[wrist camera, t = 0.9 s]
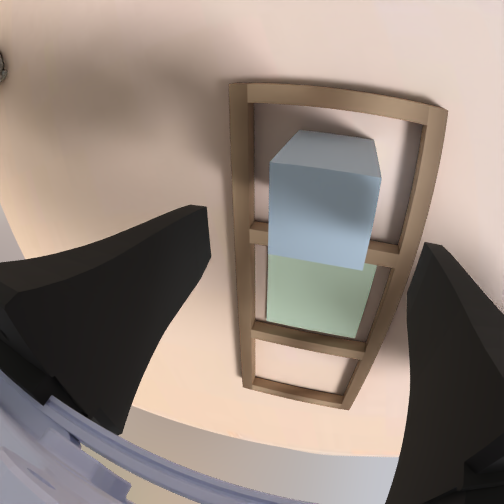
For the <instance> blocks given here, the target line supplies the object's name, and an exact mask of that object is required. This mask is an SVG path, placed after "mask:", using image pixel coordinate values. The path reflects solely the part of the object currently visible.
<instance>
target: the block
mask: <svg viewBox="0 0 504 504" xmlns="http://www.w3.org/2000/svg"><path fill="white" fill-rule="evenodd" d="M380 184H381V172H380V167H379V162H378V157H377V152H376V147H375V143H374V140H371V139H365V138H359V137H352V136H346V135H339V134H331V133H323V132H314V131H305V130H299V131H298V132H297V133H296V134H295V135H294V136H293V137H292V138H291V139H290V140H289V141H288V142H287V143H286V145H285V146H284V147H283V148H282V149H281V150H280V151H279V152H278V153H277V154H276V156H275V157H274V158H273V159H272V160H271V161H270V167H269V227H268V254H271V255H277V256H282V257H288V258H294V259H299V260H305V261H311V262H316V263H322V264H327V265H333V266H339V267H344V268H350V269H355V270H361V271H363V267H364V263H365V258H366V254H367V250H368V245H369V241H370V236H371V232H372V227H373V222H374V217H375V212H376V207H377V201H378V196H379V190H380Z"/></svg>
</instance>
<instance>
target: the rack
mask: <svg viewBox="0 0 504 504" xmlns="http://www.w3.org/2000/svg"><path fill="white" fill-rule="evenodd" d="M254 103H270V104H287V105H300V106H312V107H322V108H331V109H339V110H346V111H354V112H360V113H367V114H373V115H379V116H384V117H390V118H395V119H400V120H405V121H410V122H415V123H419V124H423V127H422V134H421V140H420V147H419V153H418V159H417V164H416V170H415V175H414V180H413V185H412V190H411V194H410V199H409V203H408V208H407V212H406V216H405V220H404V224H403V228H402V232H401V236H400V240H399V243H398V245H393V244H388V243H382V242H377V241H371V240H370V241H369V245H368V250H367V254H366V258H365V263H364V267H363V271H361V270H355V269H350V268H344V267H339V266H333V265H327V264H322V263H316V262H311V261H305V260H299V259H294V258H288V257H282V256H277V255H271V254H268V289H267V321H269V322H274V323H279V324H283V325H288V326H293V327H298V328H302V329H307V330H312V331H318V332H323V333H328V334H333V335H339V336H344V337H350V338H355V336H356V333H357V330H358V327H359V324H360V321H361V318H362V315H363V312H364V309H365V306H366V302H367V299H368V296H369V292H370V289H371V286H372V282H373V279H374V275H375V271H376V268H377V265H378V266H384V267H389V268H391V271H390V274H389V278H388V281H387V284H386V287H385V290H384V293H383V296H382V299H381V302H380V305H379V308H378V311H377V314H376V317H375V319H374V322H373V325H372V327H371V330H370V333H369V335H368V338H367V341H366V343H365V342H359V341H353V340H348V339H342V338H337V337H331V336H326V335H321V334H316V333H310V332H305V331H301V330H296V329H291V328H286V327H281V326H277V325H272V324H268V323H263V322H259V321H255V244H259V245H264V246H268V227H269V223H263V222H256V221H255V218H254ZM229 112H230V143H231V171H232V196H233V219H234V241H235V262H236V281H237V300H238V318H239V335H240V351H241V367H242V382H243V387H244V388H248V389H252V390H255V391H259V392H263V393H267V394H271V395H275V396H279V397H284V398H288V399H293V400H297V401H302V402H307V403H311V404H316V405H322V406H327V407H333V408H338V409H344V410H349V409H350V408H351V406H352V404H353V402H354V400H355V398H356V396H357V394H358V393H359V391H360V389H361V387H362V385H363V383H364V381H365V379H366V377H367V375H368V373H369V371H370V369H371V367H372V364H373V362H374V360H375V358H376V356H377V354H378V352H379V349H380V347H381V345H382V343H383V340H384V338H385V336H386V333H387V331H388V329H389V326H390V324H391V322H392V319H393V317H394V314H395V312H396V309H397V307H398V304H399V301H400V299H401V296H402V293H403V291H404V288H405V285H406V282H407V280H408V277H409V274H410V271H411V268H412V265H413V262H414V259H415V256H416V253H417V250H418V246H419V243H420V240H421V236H422V233H423V230H424V226H425V222H426V219H427V215H428V211H429V207H430V204H431V200H432V195H433V191H434V187H435V183H436V178H437V173H438V169H439V164H440V159H441V153H442V148H443V142H444V136H445V130H446V123H447V116H448V110H446V109H444V108H441V107H437V106H433V105H429V104H425V103H421V102H416V101H412V100H407V99H402V98H397V97H392V96H387V95H381V94H375V93H369V92H362V91H355V90H348V89H340V88H331V87H321V86H309V85H295V84H276V83H233V84H229ZM255 339H259V340H264V341H268V342H272V343H277V344H281V345H286V346H290V347H295V348H300V349H304V350H309V351H314V352H319V353H325V354H330V355H335V356H341V357H346V358H352V359H358V360H359V361H358V363H357V365H356V368H355V370H354V372H353V375H352V377H351V379H350V382H349V384H348V386H347V388H346V391H345V393H344V395H343V396H342V395H336V394H330V393H325V392H320V391H315V390H310V389H305V388H300V387H295V386H291V385H286V384H282V383H278V382H274V381H269V380H265V379H261V378H257V377H255Z"/></svg>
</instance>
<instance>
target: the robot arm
mask: <svg viewBox="0 0 504 504" xmlns="http://www.w3.org/2000/svg"><path fill="white" fill-rule="evenodd" d="M210 258H211V249H210V239H209V229H208V218H207V207H204V206H196V205H188V206H184V207H181V208H178V209H176V210H173V211H171V212H168V213H166V214H163V215H161V216H159V217H156V218H154V219H152V220H149V221H147V222H145V223H143V224H140V225H138V226H135V227H133V228H130V229H128V230H126V231H123V232H121V233H118V234H116V235H113V236H111V237H108V238H105V239H103V240H100V241H97V242H94V243H91V244H88V245H85V246H82V247H78V248H74V249H71V250H67V251H63V252H60V253H56V254H52V255H47V256H42V257H37V258H31V259H26V260H19V261H10V262H1V263H0V504H135V503H133V502H132V501H130V500H128V499H126V495H127V493H128V492H129V490H130V488H131V484H130V483H129V482H127V481H126V480H124V479H123V478H121V477H119V476H118V475H116V474H115V473H113V472H112V471H110V470H109V469H108V468H106V467H105V466H104V465H102V464H101V463H100V462H99V461H97V460H96V459H94V458H93V457H91V456H90V455H88V454H87V453H85V452H84V451H83V450H81V445H80V443H82V444H83V445H85V446H86V447H88V448H90V449H91V450H93V451H95V452H96V453H98V454H99V455H101V456H103V457H104V458H106V459H108V460H109V461H111V462H113V463H115V464H116V465H118V466H120V467H122V468H123V469H126V470H127V471H129V472H131V473H133V474H135V475H137V476H139V477H141V478H143V479H145V480H147V481H149V482H151V483H153V484H155V485H157V486H159V487H162V488H164V489H166V490H169V491H171V492H173V493H175V494H178V495H180V496H183V497H185V498H188V499H190V500H193V501H195V502H198V503H201V504H316V503H311V502H305V501H300V500H294V499H290V498H285V497H280V496H276V495H271V494H268V493H264V492H260V491H256V490H252V489H248V488H245V487H242V486H238V485H235V484H232V483H228V482H225V481H222V480H219V479H216V478H213V477H210V476H207V475H205V474H202V473H199V472H197V471H194V470H191V469H189V468H186V467H183V466H181V465H179V464H176V463H173V462H171V461H169V460H167V459H165V458H162V457H160V456H158V455H156V454H153V453H151V452H149V451H147V450H145V449H143V448H141V447H139V446H137V445H134V444H133V443H131V442H129V441H127V440H125V439H123V438H121V437H119V436H117V435H119V434H122V432H123V429H124V425H125V422H126V419H127V416H128V413H129V410H130V407H131V404H132V402H133V399H134V397H135V394H136V391H137V389H138V386H139V384H140V381H141V379H142V377H143V375H144V372H145V370H146V368H147V366H148V364H149V361H150V359H151V357H152V355H153V353H154V351H155V349H156V347H157V345H158V343H159V341H160V339H161V337H162V335H163V334H164V332H165V331H166V329H167V327H168V326H169V324H170V323H171V321H172V320H173V318H174V317H175V315H176V314H177V312H178V311H179V310H180V308H181V307H182V305H183V304H184V302H185V301H186V299H187V298H188V297H189V295H190V294H191V292H192V291H193V289H194V288H195V286H196V285H197V283H198V282H199V280H200V279H201V277H202V275H203V273H204V271H205V269H206V267H207V265H208V262H209V260H210ZM407 329H408V343H409V358H410V396H409V405H408V414H407V421H406V427H405V433H404V438H403V443H402V448H401V452H400V456H399V461H398V465H397V469H396V472H395V476H394V479H393V482H392V485H391V488H390V491H389V494H388V497H387V500H386V503H385V504H504V315H503V314H502V312H501V311H500V310H499V309H498V308H497V307H496V306H495V305H494V304H493V302H492V301H491V300H490V299H489V298H488V297H487V296H486V295H485V293H484V292H483V291H482V290H481V289H480V288H479V286H478V285H477V284H476V283H475V282H474V281H473V279H472V278H471V277H470V276H469V275H468V273H467V272H466V271H465V270H464V269H463V267H462V266H461V265H460V264H459V263H458V262H457V261H456V259H455V258H454V257H453V256H452V255H451V254H450V253H449V252H448V251H447V250H446V249H445V248H444V247H443V246H442V245H437V244H432V243H427V242H425V243H424V246H423V249H422V252H421V255H420V258H419V261H418V264H417V267H416V270H415V273H414V276H413V278H412V281H411V284H410V287H409V289H408V292H407Z"/></svg>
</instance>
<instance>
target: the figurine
mask: <svg viewBox="0 0 504 504" xmlns="http://www.w3.org/2000/svg"><path fill="white" fill-rule="evenodd" d="M3 67H4V63H3V61H2V58H1V55H0V81H2V80H3V79H4V78H5V77H6V75H7V71H6V70H4V71H3Z"/></svg>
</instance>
